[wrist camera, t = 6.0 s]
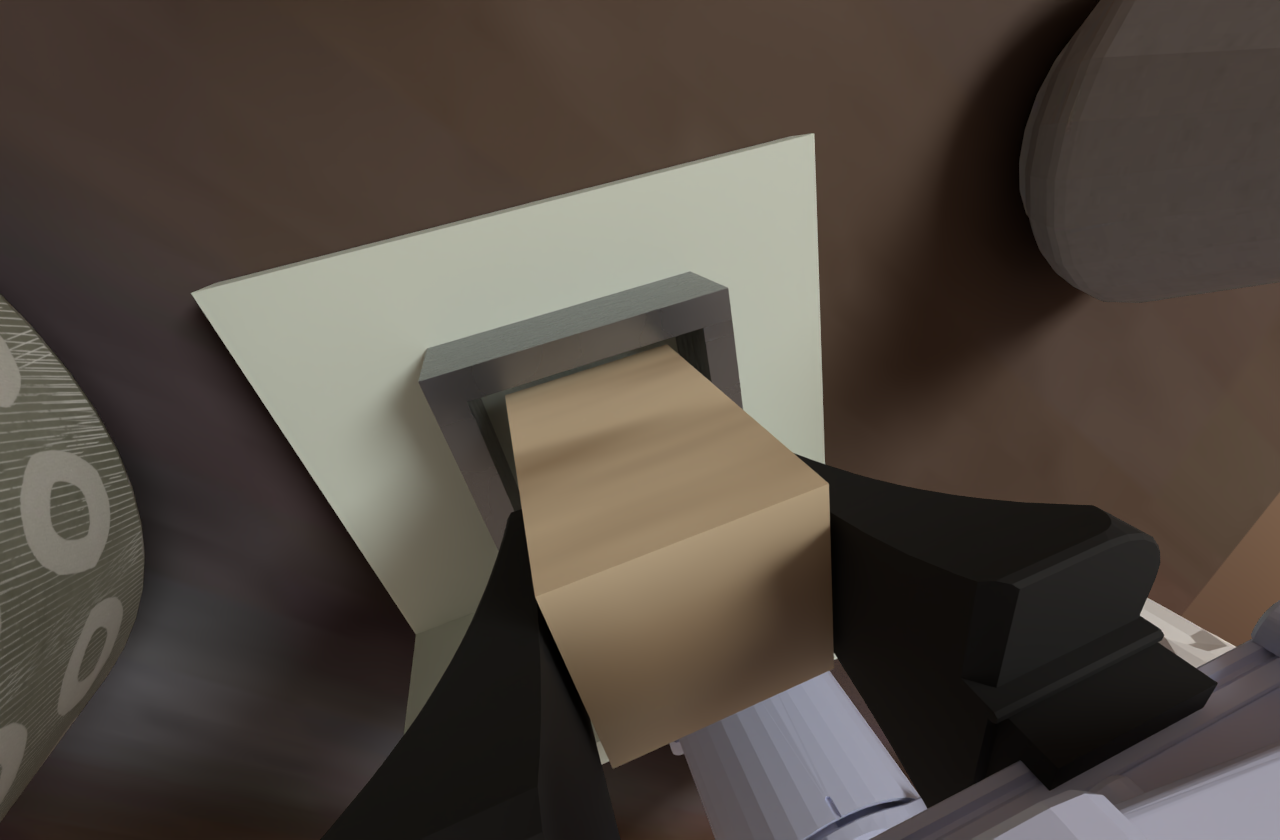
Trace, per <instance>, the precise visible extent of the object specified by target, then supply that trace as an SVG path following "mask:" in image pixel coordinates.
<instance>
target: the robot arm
mask: <svg viewBox="0 0 1280 840" xmlns="http://www.w3.org/2000/svg"><path fill="white" fill-rule="evenodd" d="M794 454H795V453H794ZM795 455H796V456H797V457H799V458H800V459H801V460H802V461H803V462H804V463H806V464H807V465H808V466H809V467H810V468H811V469H812V470H814V471H815V472H816V473H817V474H818V475H819V476H821V477H822V478H823V479H824V480H825V481H826V482H828V483H829V503H830V539H831V575H832V612H833V648H834V654H835V655H836V657H837V658H838V660H839V661H840V663H841V664H842V666H843V668H844V669H845V671H846V672H847V674H848V676H849V677H850V679H851V680H852V682H853V684H854V685H855V687H856V688H857V690H858V691H859V693H860V695H861V696H862V698H863V699H864V701H865V703H866V704H867V706H868V708H869V709H870V711H871V713H872V714H873V716H874V718H875V719H876V721H877V723H878V724H879V726H880V728H881V729H882V731H883V733H884V734H885V736H886V738H887V739H888V741H889V743H890V744H891V746H892V748H893V749H894V751H895V753H896V755H897V756H898V758H899V760H900V762H901V763H902V765H903V767H904V769H905V770H906V772H907V774H908V775H909V777H910V779H911V781H912V782H913V784H914V786H915V788H916V789H917V791H918V793H919V794H918V793H917V792H916V790H915V789H914V787H913V786H912V785H911V783H910V782H909V780H908V779H907V778H906V776H905V775H904V774H903V772H902V771H901V769H900V768H899V767H898V765H897V764H896V762H895V761H894V760H893V758H892V757H891V756H890V754H889V753H888V751H887V750H886V749H885V747H884V746H883V744H882V743H881V742H880V740H879V739H878V738H877V736H876V735H875V733H874V732H873V731H872V729H871V728H870V726H869V725H868V724H867V722H866V721H865V720H864V718H863V717H862V715H861V714H860V713H859V711H858V710H857V708H856V707H855V706H854V704H853V703H852V702H851V700H850V699H849V697H848V696H847V695H846V693H845V692H844V690H843V689H842V688H841V686H840V685H839V684H838V682H837V681H836V679H835V678H834V677H833V675H832V674H831V672H830V671H827V672H825V673H823V674H821V675H819V676H816V677H814V678H812V679H810V680H808V681H805V682H803V683H801V684H799V685H797V686H794V687H792V688H790V689H788V690H786V691H783V692H781V693H779V694H777V695H775V696H772V697H770V698H768V699H766V700H764V701H761V702H759V703H757V704H755V705H753V706H750V707H748V708H746V709H744V710H742V711H739V712H737V713H735V714H733V715H731V716H728V717H726V718H724V719H722V720H720V721H717V722H715V723H713V724H711V725H709V726H706V727H704V728H702V729H700V730H698V731H695V732H693V733H691V734H689V735H687V736H684V737H682V738H680V739H678V740H676V741H673V742H671V743H669V744H670V747H671V750H672V753H673V754H674V755H682V754H684V755H685V757H686V760H687V763H688V766H689V768H690V771H691V774H692V777H693V779H694V782H695V785H696V787H697V790H698V793H699V796H700V798H701V801H702V804H703V807H704V809H705V812H706V815H707V817H708V820H709V823H710V826H711V828H712V831H713V834H714V836H715V839H716V840H1280V600H1279V601H1278V602H1277V603H1275V604H1273V605H1272V606H1271V607H1270V608H1269V609H1268V610H1267V611H1266V612H1265V613H1264V614H1263V615H1262V617H1261V618H1260V619H1259V621H1258V622H1257V624H1256V625H1255V627H1254V629H1253V631H1252V634H1251V636H1252V639H1251V640H1249V641H1247V642H1245V643H1243V644H1241V645H1239V646H1237V647H1235V648H1233V649H1232V650H1230V651H1228V652H1226V653H1224V654H1222V655H1220V656H1218V657H1216V658H1214V659H1212V660H1211V661H1209V662H1207V663H1205V664H1203V665H1201V666H1199V667H1197V668H1195V667H1194V666H1192V665H1191V664H1189V663H1188V662H1186V661H1185V660H1183V659H1182V658H1181V657H1179V656H1178V655H1176V654H1175V653H1173V652H1172V651H1170V650H1169V649H1167V648H1166V647H1164V646H1163V645H1161V644H1160V643H1158V642H1160V641H1162V639H1163V637H1164V634H1163V632H1162V630H1161V629H1160V628H1158V627H1157V626H1155V625H1154V624H1152V623H1151V622H1149V621H1148V620H1146V619H1144V618H1143V617H1141V616H1140V613H1141V611H1142V609H1143V606H1144V604H1145V602H1146V599H1147V597H1148V595H1149V592H1150V590H1151V587H1152V585H1153V583H1154V580H1155V578H1156V575H1157V572H1158V569H1159V565H1160V550H1159V547H1158V545H1157V543H1156V541H1155V540H1154V538H1153V537H1152V536H1150V535H1148V534H1146V533H1144V532H1142V531H1140V530H1139V529H1137V528H1135V527H1133V526H1131V525H1129V524H1127V523H1125V522H1124V521H1122V520H1120V519H1118V518H1116V517H1114V516H1112V515H1111V514H1109V513H1107V512H1105V511H1103V510H1101V509H1099V508H1097V507H1095V506H1092V505H1069V504H1045V503H1024V502H1012V501H1002V500H991V499H981V498H973V497H965V496H957V495H951V494H945V493H939V492H933V491H927V490H921V489H916V488H911V487H906V486H901V485H897V484H892V483H888V482H884V481H880V480H876V479H872V478H868V477H864V476H861V475H857V474H854V473H850V472H847V471H844V470H841V469H838V468H835V467H831V466H828V465H825V464H823V463H820V462H817V461H814V460H811V459H809V458H806V457H803V456H801V455H798V454H795ZM919 795H920V796H921V797H920V796H919ZM320 840H620V836H619V832H618V828H617V824H616V820H615V817H614V813H613V809H612V805H611V801H610V797H609V793H608V789H607V785H606V781H605V777H604V773H603V769H602V765H601V761H600V757H599V753H598V748H597V744H596V740H595V736H594V732H593V728H592V724H591V720H590V717H589V715H588V713H587V711H586V708H585V706H584V704H583V702H582V700H581V697H580V695H579V693H578V691H577V689H576V686H575V684H574V682H573V680H572V678H571V675H570V673H569V671H568V669H567V667H566V664H565V662H564V660H563V658H562V655H561V653H560V651H559V649H558V647H557V644H556V642H555V640H554V638H553V636H552V633H551V631H550V629H549V627H548V625H547V622H546V620H545V618H544V616H543V614H542V611H541V609H540V607H539V605H538V602H537V600H536V598H535V593H534V587H533V580H532V573H531V567H530V560H529V553H528V547H527V540H526V533H525V527H524V520H523V513H522V509H520V510H517V511H514V512H511V513H510V515H509V517H508V519H507V524H506V528H505V531H504V535H503V539H502V542H501V545H500V549H499V552H498V555H497V558H496V561H495V564H494V566H493V569H492V572H491V575H490V578H489V581H488V583H487V586H486V588H485V591H484V593H483V595H482V598H481V600H480V602H479V605H478V607H477V609H476V612H475V614H474V617H473V619H472V621H471V623H470V625H469V627H468V629H467V631H466V633H465V635H464V637H463V639H462V641H461V643H460V645H459V647H458V649H457V651H456V653H455V655H454V656H453V658H452V660H451V662H450V664H449V666H448V667H447V669H446V671H445V672H444V674H443V676H442V677H441V679H440V681H439V682H438V684H437V686H436V687H435V689H434V691H433V692H432V694H431V696H430V697H429V699H428V700H427V702H426V703H425V705H424V707H423V708H422V710H421V711H420V713H419V714H418V716H417V717H416V719H415V720H414V721H413V723H412V724H411V726H410V727H409V729H408V730H407V731H406V733H405V734H404V736H403V737H402V738H401V740H400V741H399V743H398V744H397V745H396V747H395V748H394V749H393V751H392V752H391V753H390V755H389V756H388V757H387V759H386V760H385V761H384V763H383V764H382V765H381V767H380V768H379V769H378V770H377V772H376V773H375V774H374V776H373V777H372V778H371V779H370V781H369V782H368V783H367V784H366V786H365V787H364V788H363V789H362V790H361V792H360V793H359V794H358V795H357V796H356V798H355V799H354V800H353V801H352V802H351V804H350V805H349V806H348V807H347V809H346V810H345V811H344V812H343V813H342V815H341V816H340V817H339V818H338V819H337V821H336V822H335V823H334V824H333V825H332V827H331V828H330V829H329V830H328V831H327V833H326V834H325V835H324V836H323V837H322V838H321V839H320Z"/></svg>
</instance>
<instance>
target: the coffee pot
mask: <svg viewBox="0 0 1280 840" xmlns="http://www.w3.org/2000/svg"><path fill="white" fill-rule="evenodd" d="M1019 184H1020V194H1021V197H1022V201H1023V205H1024V208H1025V212H1026V214H1027V216H1028V217H1029V220H1030V224H1031V228H1032V231H1033V235H1034V238H1035V240H1036V243H1037V245H1038V248H1039V250H1040V252H1041V253H1042V255H1043V256H1044V257H1045V259H1046V260H1047V261H1048V263H1049V264H1050V266H1051V267H1052V268H1053V270H1054V271H1055V272H1056V273H1057V274H1058V275H1059V276H1061V277H1062V278H1063V279H1064V280H1066V281H1067V282H1068V283H1069V284H1071V285H1072V286H1073V287H1075V288H1077V289H1079V290H1081V291H1083V292H1085V293H1087V294H1088V295H1090V296H1092V297H1094V298H1096V299H1099V300H1101V301H1103V302H1132V303H1142V302H1149V301H1156V300H1162V299H1169V298H1176V297H1183V296H1189V295H1196V294H1203V293H1210V292H1216V291H1223V290H1230V289H1237V288H1243V287H1250V286H1257V285H1264V284H1270V283H1277V282H1280V0H1100V1H1099V3H1098V4H1097V5H1096V7H1095V8H1094V9H1093V11H1092V12H1091V13H1090V15H1089V16H1088V17H1087V19H1086V20H1085V21H1084V23H1083V24H1082V25H1081V27H1080V28H1079V29H1078V30H1077V32H1076V33H1075V34H1074V36H1073V37H1072V38H1071V40H1070V41H1069V42H1068V44H1067V45H1066V46H1065V48H1064V49H1063V50H1062V52H1061V53H1060V54H1059V56H1058V57H1057V58H1056V60H1055V61H1054V63H1053V65H1052V67H1051V69H1050V71H1049V73H1048V75H1047V76H1046V78H1045V80H1044V82H1043V84H1042V86H1041V88H1040V90H1039V91H1038V93H1037V96H1036V99H1035V102H1034V104H1033V107H1032V110H1031V113H1030V116H1029V119H1028V122H1027V124H1026V127H1025V131H1024V137H1023V143H1022V148H1021V154H1020V160H1019Z"/></svg>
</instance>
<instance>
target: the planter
mask: <svg viewBox="0 0 1280 840" xmlns="http://www.w3.org/2000/svg"><path fill="white" fill-rule="evenodd" d="M144 565H145V551H144V540H143V530H142V522H141V518H140V514H139V510H138V506H137V502H136V498H135V494H134V490H133V487H132V485H131V482H130V479H129V477H128V474H127V472H126V469H125V467H124V464H123V462H122V459H121V457H120V454H119V451H118V450H117V448H116V446H115V444H114V442H113V440H112V439H111V437H110V435H109V433H108V431H107V429H106V428H105V426H104V424H103V422H102V420H101V418H100V416H99V415H98V413H97V411H96V410H95V408H94V407H93V405H92V404H91V402H90V401H89V399H88V398H87V397H86V395H85V394H84V392H83V391H82V389H81V388H80V386H79V385H78V383H77V382H76V380H75V379H74V378H73V376H72V375H71V373H70V372H69V370H68V369H67V368H66V367H65V365H64V364H63V363H62V362H61V361H60V359H59V358H58V357H57V356H56V355H55V353H54V352H53V351H52V350H51V349H50V347H49V346H48V345H47V344H46V343H45V341H44V340H43V339H42V338H41V337H40V335H39V334H38V333H37V332H36V331H35V329H34V328H33V327H32V326H31V325H30V324H29V323H28V322H27V321H26V319H25V318H24V317H23V316H22V315H21V314H20V313H19V312H18V311H17V310H16V309H15V308H14V307H13V306H12V305H11V304H10V303H9V302H8V301H7V300H6V299H5V298H4V297H3V296H2V295H1V294H0V822H1V821H2V819H3V818H4V817H5V815H6V814H7V812H8V811H9V810H10V808H11V807H12V806H13V804H14V803H15V802H16V800H17V799H18V797H19V796H20V795H21V793H22V792H23V791H24V789H25V788H26V786H27V785H28V784H29V782H30V781H31V780H32V778H33V777H34V776H35V774H36V773H37V771H38V770H39V769H40V767H41V766H42V765H43V763H44V762H45V761H46V759H47V758H48V756H49V755H50V754H51V752H52V751H53V750H54V748H55V747H56V745H57V744H58V743H59V741H60V740H61V739H62V737H63V736H64V735H65V733H66V732H67V730H68V729H69V728H70V726H71V725H72V724H73V722H74V721H75V719H76V718H77V717H78V715H79V714H80V713H81V711H82V710H83V709H84V707H85V706H86V704H87V703H88V702H89V700H90V699H91V698H92V696H93V695H94V693H95V692H96V691H97V689H98V688H99V687H100V685H101V684H102V683H103V681H104V680H105V678H106V677H107V676H108V674H109V673H110V671H111V669H112V668H113V666H114V664H115V663H116V661H117V659H118V658H119V656H120V654H121V653H122V651H123V649H124V647H125V645H126V642H127V640H128V637H129V635H130V632H131V630H132V627H133V625H134V622H135V619H136V616H137V612H138V607H139V603H140V599H141V594H142V590H143V582H144Z"/></svg>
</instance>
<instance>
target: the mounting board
mask: <svg viewBox="0 0 1280 840" xmlns="http://www.w3.org/2000/svg"><path fill="white" fill-rule="evenodd" d="M689 271H691V272H693V273H695V274H698V275H700V276H702V277H704V278H707V279H709V280H711V281H714V282H716V283H718V284H721V285H723V286H725V287H727V288H728V290H729V298H730V306H731V314H732V322H733V330H734V339H735V347H736V355H737V363H738V371H739V379H740V388H741V396H742V404H743V410H744V411H745V412H746V413H747V414H749V415H750V416H751V417H752V418H753V419H754V420H756V421H757V422H758V423H759V424H760V425H761V426H763V427H764V428H765V429H766V430H767V431H768V432H769V433H771V434H772V435H773V436H774V437H775V438H776V439H778V440H779V441H780V442H781V443H782V444H783V445H785V446H786V447H787V448H788V449H789V450H790V451H792V452H793V453H795V454H798V455H801V456H803V457H806V458H809V459H811V460H814V461H817V462H820V463H823V464H825V451H824V420H823V389H822V358H821V327H820V296H819V265H818V234H817V203H816V172H815V141H814V134H806V135H798V136H790V137H786V138H782V139H778V140H774V141H771V142H767V143H763V144H759V145H755V146H751V147H747V148H743V149H739V150H735V151H731V152H727V153H724V154H720V155H716V156H712V157H708V158H704V159H700V160H696V161H692V162H688V163H684V164H680V165H676V166H673V167H669V168H665V169H661V170H657V171H653V172H649V173H645V174H641V175H637V176H633V177H629V178H626V179H622V180H618V181H614V182H610V183H606V184H602V185H598V186H594V187H590V188H586V189H582V190H578V191H575V192H571V193H567V194H563V195H559V196H555V197H551V198H547V199H543V200H539V201H535V202H531V203H527V204H524V205H520V206H516V207H512V208H508V209H504V210H500V211H496V212H492V213H488V214H484V215H480V216H477V217H473V218H469V219H465V220H461V221H457V222H453V223H449V224H445V225H441V226H437V227H433V228H429V229H426V230H422V231H418V232H414V233H410V234H406V235H402V236H398V237H394V238H390V239H386V240H382V241H379V242H375V243H371V244H367V245H363V246H359V247H355V248H351V249H347V250H343V251H339V252H335V253H331V254H328V255H324V256H320V257H316V258H312V259H308V260H304V261H300V262H296V263H292V264H288V265H284V266H280V267H277V268H273V269H269V270H265V271H261V272H257V273H253V274H249V275H245V276H241V277H237V278H233V279H230V280H226V281H222V282H218V283H214V284H212V285H209V286H207V287H204V288H202V289H200V290H197V291H195V292H192V293H191V294H192V296H193V297H194V299H195V300H196V302H197V303H198V305H199V306H200V308H201V309H202V311H203V312H204V314H205V315H206V317H207V318H208V320H209V321H210V323H211V324H212V326H213V328H214V329H215V331H216V332H217V334H218V335H219V337H220V338H221V340H222V341H223V343H224V344H225V346H226V347H227V349H228V350H229V352H230V353H231V355H232V356H233V358H234V359H235V361H236V362H237V364H238V365H239V367H240V368H241V370H242V372H243V373H244V375H245V376H246V378H247V379H248V381H249V382H250V384H251V385H252V387H253V388H254V390H255V391H256V393H257V394H258V396H259V397H260V399H261V400H262V402H263V403H264V405H265V406H266V408H267V409H268V411H269V412H270V414H271V416H272V417H273V419H274V420H275V422H276V423H277V425H278V426H279V428H280V429H281V431H282V432H283V434H284V435H285V437H286V438H287V440H288V441H289V443H290V444H291V446H292V447H293V449H294V450H295V452H296V453H297V455H298V456H299V458H300V460H301V461H302V463H303V464H304V466H305V467H306V469H307V470H308V472H309V473H310V475H311V476H312V478H313V479H314V481H315V482H316V484H317V485H318V487H319V488H320V490H321V491H322V493H323V494H324V496H325V497H326V499H327V500H328V502H329V503H330V505H331V507H332V508H333V510H334V511H335V513H336V514H337V516H338V517H339V519H340V520H341V522H342V523H343V525H344V526H345V528H346V529H347V531H348V532H349V534H350V535H351V537H352V538H353V540H354V541H355V543H356V544H357V546H358V547H359V549H360V551H361V552H362V554H363V555H364V557H365V558H366V560H367V561H368V563H369V564H370V566H371V567H372V569H373V570H374V572H375V573H376V575H377V576H378V578H379V579H380V581H381V582H382V584H383V585H384V587H385V588H386V590H387V591H388V593H389V595H390V596H391V598H392V599H393V601H394V602H395V604H396V605H397V607H398V608H399V610H400V611H401V613H402V614H403V616H404V617H405V619H406V620H407V622H408V623H409V625H410V626H411V628H412V629H413V631H414V632H415V634H416V638H415V646H414V654H413V663H412V671H411V679H410V687H409V695H408V703H407V711H406V719H405V727H404V734H405V733H406V731H407V730H408V729H409V727H410V726H411V724H412V723H413V721H414V720H415V719H416V717H417V716H418V714H419V713H420V711H421V710H422V708H423V707H424V705H425V703H426V702H427V700H428V699H429V697H430V696H431V694H432V692H433V691H434V689H435V687H436V686H437V684H438V682H439V681H440V679H441V677H442V676H443V674H444V672H445V671H446V669H447V667H448V666H449V664H450V662H451V660H452V658H453V656H454V655H455V653H456V651H457V649H458V647H459V645H460V643H461V641H462V639H463V637H464V635H465V633H466V631H467V629H468V627H469V625H470V623H471V621H472V619H473V617H474V614H475V612H476V609H477V607H478V605H479V602H480V600H481V598H482V595H483V593H484V591H485V588H486V586H487V583H488V581H489V578H490V575H491V572H492V569H493V566H494V564H495V561H496V558H497V555H498V552H499V551H498V549H497V547H496V545H495V543H494V541H493V539H492V536H491V534H490V532H489V530H488V528H487V526H486V524H485V522H484V520H483V518H482V515H481V513H480V511H479V509H478V507H477V505H476V503H475V501H474V499H473V496H472V494H471V492H470V490H469V488H468V486H467V484H466V482H465V480H464V477H463V475H462V473H461V471H460V469H459V467H458V465H457V463H456V461H455V458H454V456H453V454H452V452H451V450H450V448H449V446H448V444H447V442H446V440H445V437H444V435H443V433H442V431H441V429H440V427H439V425H438V423H437V421H436V418H435V416H434V414H433V412H432V410H431V408H430V406H429V404H428V402H427V399H426V397H425V395H424V393H423V391H422V389H421V387H420V385H419V383H418V380H419V377H420V373H421V369H422V365H423V361H424V358H425V354H426V350H427V348H430V347H434V346H437V345H440V344H444V343H447V342H451V341H454V340H458V339H461V338H464V337H468V336H471V335H475V334H478V333H481V332H485V331H488V330H492V329H495V328H498V327H502V326H505V325H509V324H512V323H516V322H519V321H522V320H526V319H529V318H533V317H536V316H539V315H543V314H546V313H550V312H553V311H556V310H560V309H563V308H567V307H570V306H574V305H577V304H580V303H584V302H587V301H591V300H594V299H597V298H601V297H604V296H608V295H611V294H614V293H618V292H621V291H625V290H628V289H631V288H635V287H638V286H642V285H645V284H649V283H652V282H655V281H659V280H662V279H666V278H669V277H672V276H676V275H679V274H683V273H686V272H689ZM666 344H667V345H668V346H670V347H671V348H672V349H673V350H674V351H675V352H677V353H678V349H677V344H676V338H675V337H672V338H669V339H666V340H663V341H659V342H656V343H653V344H650V345H647V346H643V347H640V348H637V349H634V350H631V351H628V352H624V353H621V354H618V355H615V356H612V357H608V358H605V359H602V360H599V361H596V362H593V363H589V364H586V365H583V366H580V367H577V368H573V369H570V370H567V371H564V372H561V373H558V374H554V375H551V376H548V377H545V378H542V379H538V380H535V381H532V382H529V383H526V384H523V385H519V386H516V387H513V388H510V389H507V390H503V391H500V392H497V393H494V394H491V395H488V396H484V397H481V399H482V402H483V404H484V407H485V409H486V411H487V414H488V416H489V419H490V421H491V423H492V426H493V428H494V431H495V433H496V436H497V438H498V440H499V443H500V445H501V448H502V450H503V453H504V455H505V457H506V460H507V462H508V465H509V467H510V469H511V472H512V474H513V477H514V479H515V482H516V484H517V486H518V480H517V473H516V466H515V460H514V453H513V446H512V440H511V433H510V426H509V419H508V413H507V406H506V399H505V395H507V394H511V393H514V392H517V391H520V390H523V389H526V388H530V387H533V386H536V385H539V384H542V383H545V382H549V381H552V380H555V379H558V378H561V377H564V376H568V375H571V374H574V373H577V372H580V371H583V370H587V369H590V368H593V367H596V366H599V365H602V364H606V363H609V362H612V361H615V360H618V359H621V358H625V357H628V356H631V355H634V354H637V353H640V352H644V351H647V350H650V349H653V348H656V347H659V346H663V345H666ZM518 489H519V486H518ZM835 659H837V657H836V655H835V654H834V660H835ZM590 720H591V719H590ZM591 724H592V722H591ZM592 728H593V732H594V736H595V740H596V744H597V748H598V753H599V757H600V761H601V765H602V764H604V763H606V762H609V759H608V757H607V755H606V753H605V750H604V748H603V746H602V744H601V742H600V739H599V737H598V735H597V733H596V731H595V728H594V726H593V724H592Z"/></svg>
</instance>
